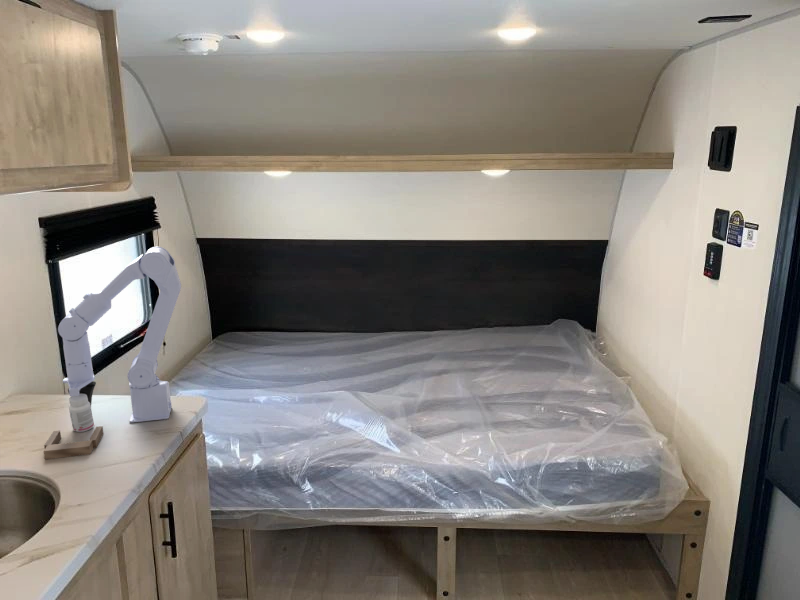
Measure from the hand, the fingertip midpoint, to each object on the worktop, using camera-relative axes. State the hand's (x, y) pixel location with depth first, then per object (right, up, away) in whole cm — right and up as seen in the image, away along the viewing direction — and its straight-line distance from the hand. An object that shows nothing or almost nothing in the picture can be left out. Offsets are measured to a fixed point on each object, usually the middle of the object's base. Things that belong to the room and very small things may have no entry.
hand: (85, 412), depth 155 cm
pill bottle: (+1, -4, -3) cm, 4 cm away
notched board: (+3, -6, -11) cm, 13 cm away
